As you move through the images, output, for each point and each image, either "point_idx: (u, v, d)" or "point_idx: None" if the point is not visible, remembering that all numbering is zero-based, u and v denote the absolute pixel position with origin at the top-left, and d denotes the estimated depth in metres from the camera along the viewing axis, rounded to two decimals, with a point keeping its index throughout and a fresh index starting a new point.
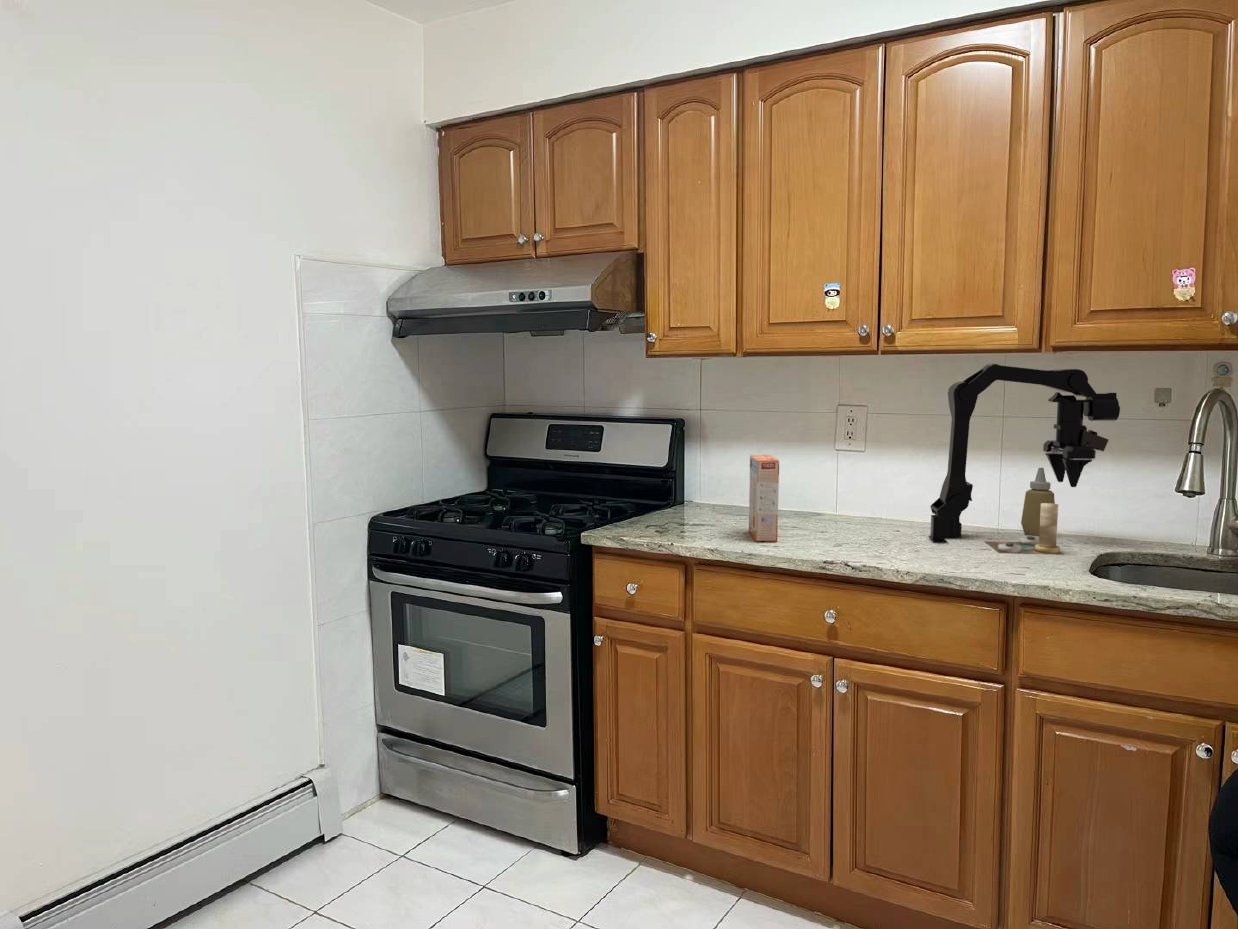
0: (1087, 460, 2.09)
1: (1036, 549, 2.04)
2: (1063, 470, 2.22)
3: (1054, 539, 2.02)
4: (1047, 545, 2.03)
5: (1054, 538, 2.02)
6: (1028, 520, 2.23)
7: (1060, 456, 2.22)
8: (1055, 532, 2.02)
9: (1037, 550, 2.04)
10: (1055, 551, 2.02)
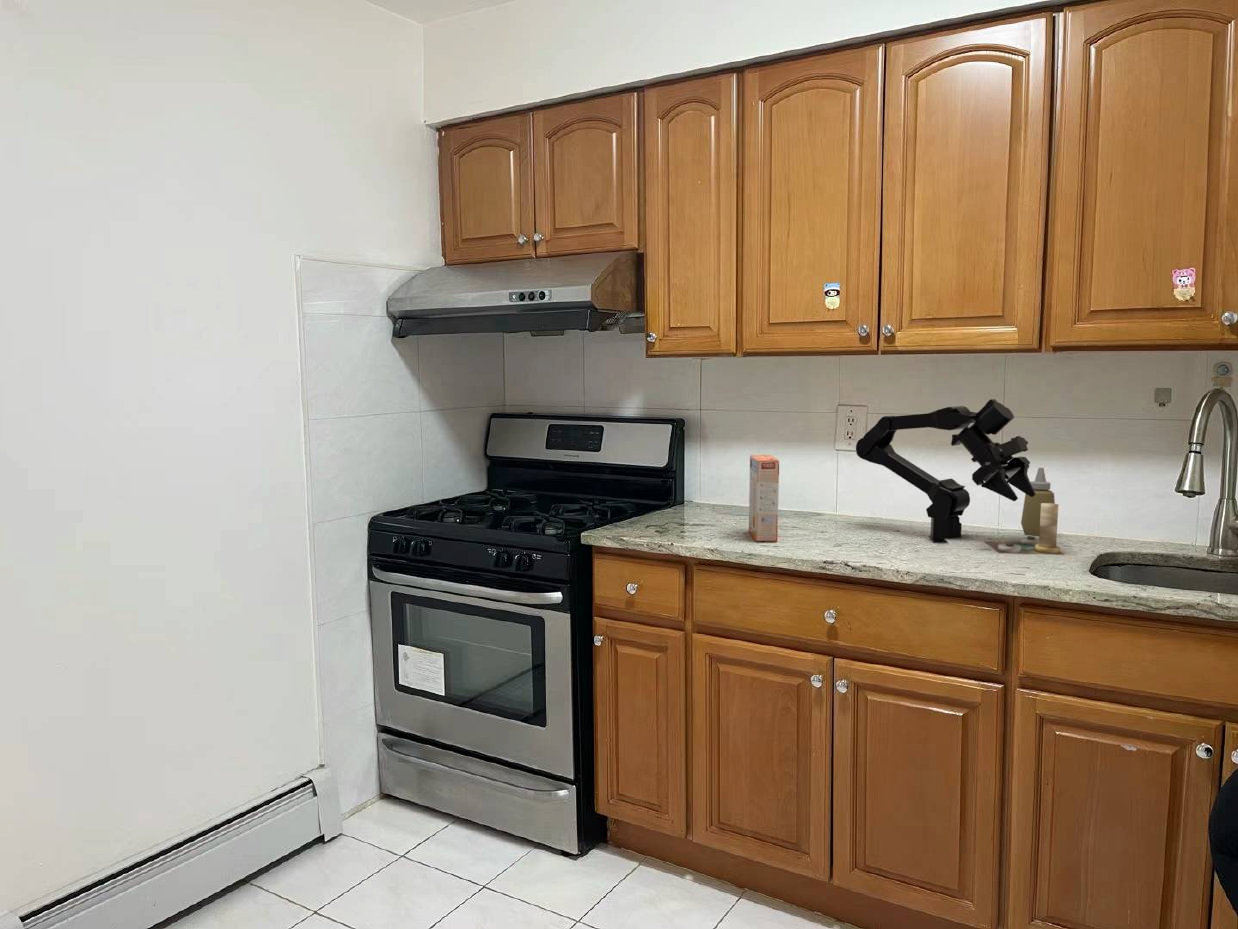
0: (995, 474, 2.04)
1: (1036, 549, 2.04)
2: (1027, 484, 2.11)
3: (1054, 539, 2.02)
4: (1047, 545, 2.03)
5: (1054, 538, 2.02)
6: (1028, 520, 2.23)
7: (1015, 475, 2.14)
8: (1055, 532, 2.02)
9: (1037, 550, 2.04)
10: (1055, 551, 2.02)
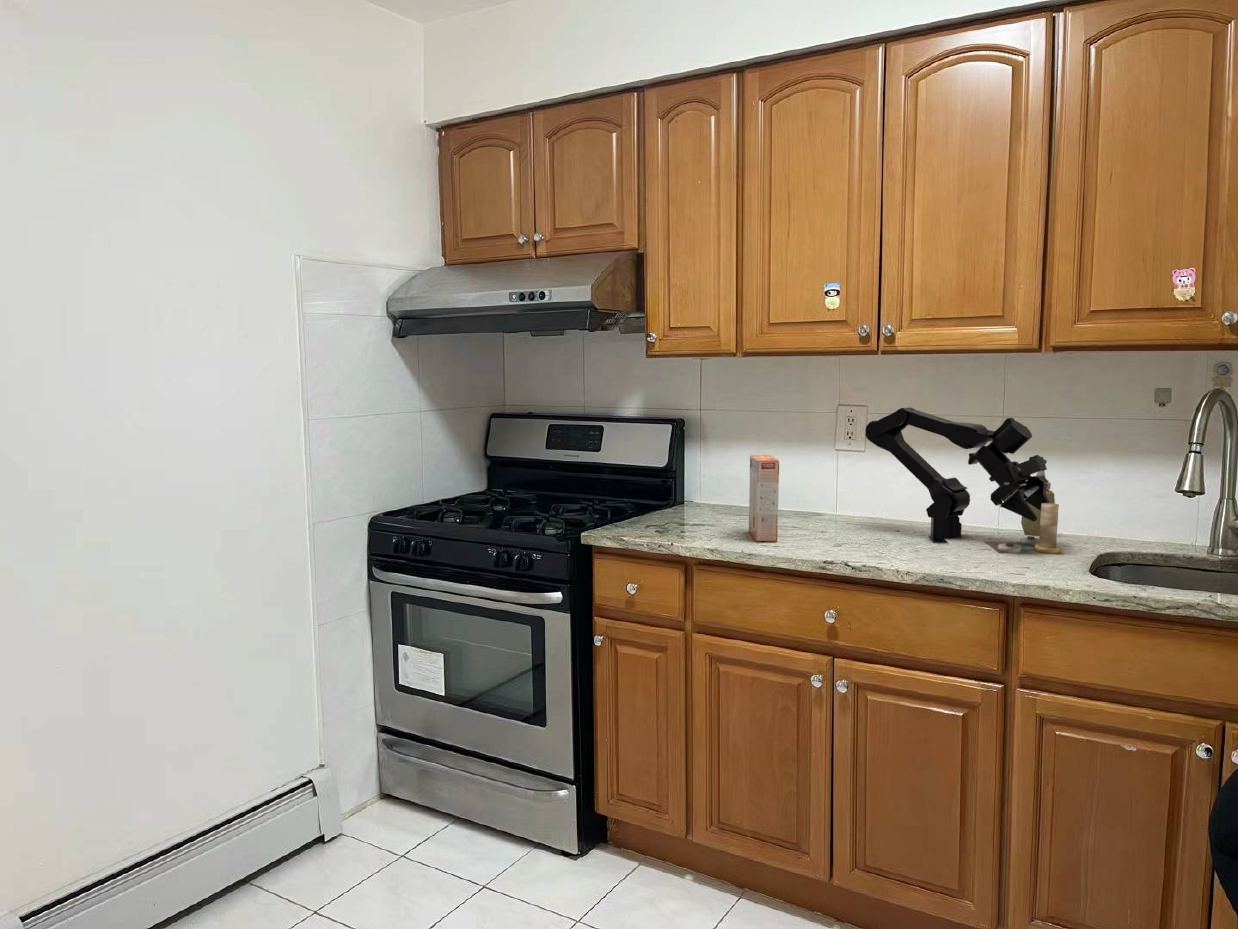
0: (1014, 494, 2.01)
1: (1036, 549, 2.04)
2: None
3: (1054, 539, 2.02)
4: (1047, 545, 2.03)
5: (1054, 538, 2.02)
6: (1028, 520, 2.23)
7: (1034, 494, 2.11)
8: (1055, 532, 2.02)
9: (1037, 550, 2.04)
10: (1055, 551, 2.02)
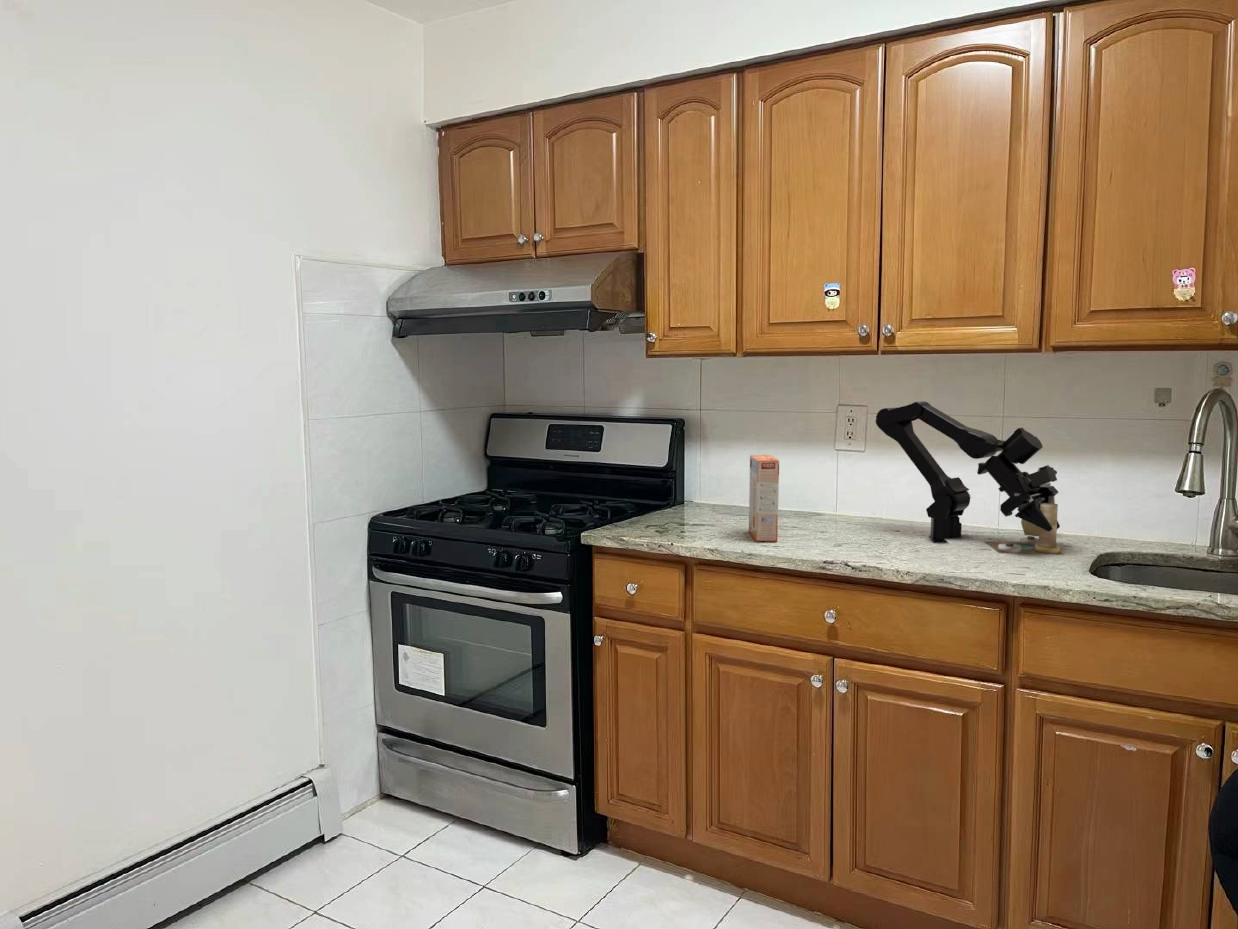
0: (1029, 504, 2.01)
1: (1036, 549, 2.04)
2: None
3: (1054, 539, 2.02)
4: (1047, 545, 2.03)
5: (1054, 538, 2.02)
6: None
7: (1039, 506, 2.07)
8: (1054, 531, 2.02)
9: (1037, 550, 2.04)
10: (1055, 551, 2.02)
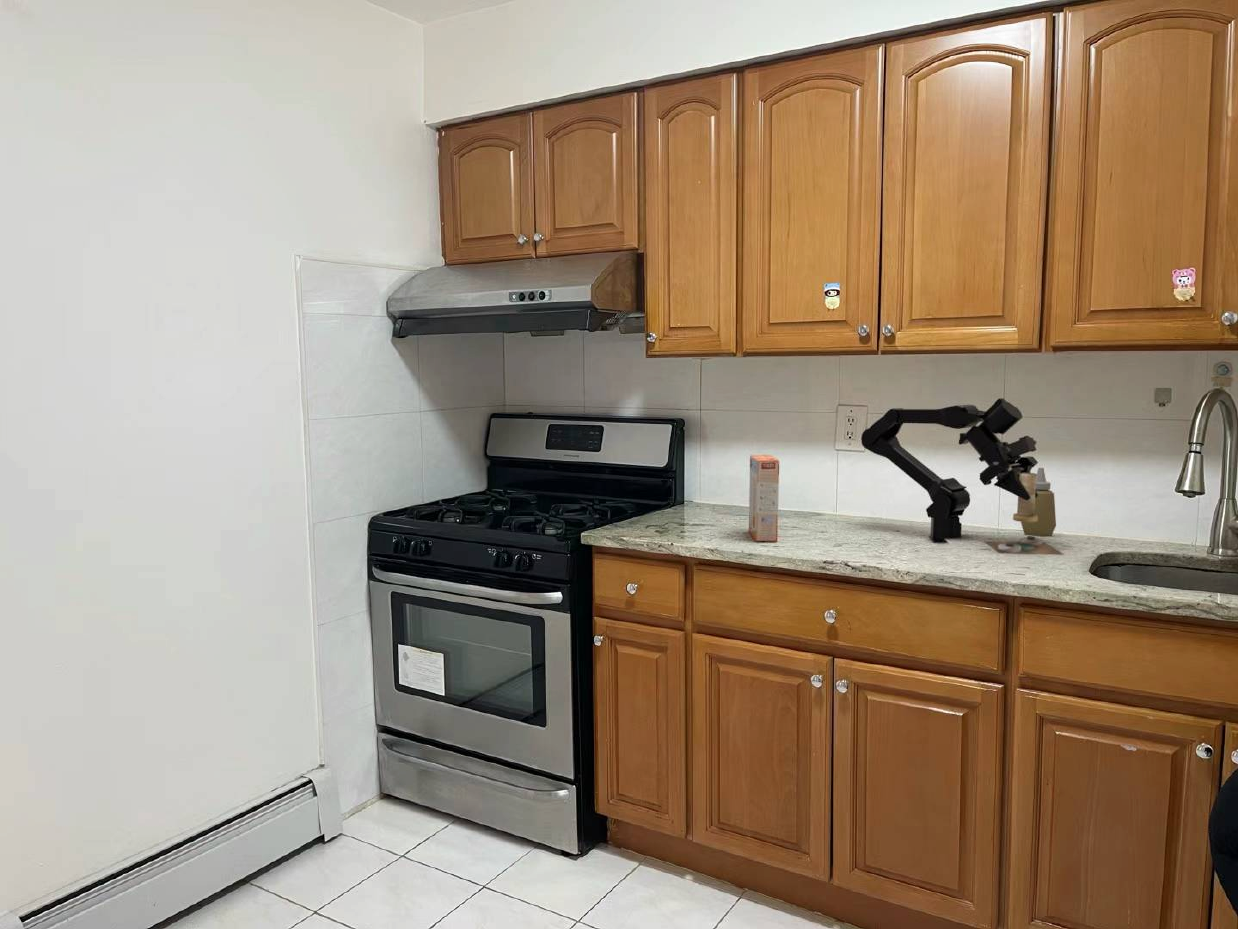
0: (1008, 473, 2.04)
1: (1014, 518, 2.07)
2: None
3: (1032, 508, 2.05)
4: (1025, 514, 2.06)
5: (1032, 507, 2.05)
6: None
7: (1018, 476, 2.10)
8: (1032, 500, 2.05)
9: (1015, 519, 2.07)
10: (1033, 519, 2.05)
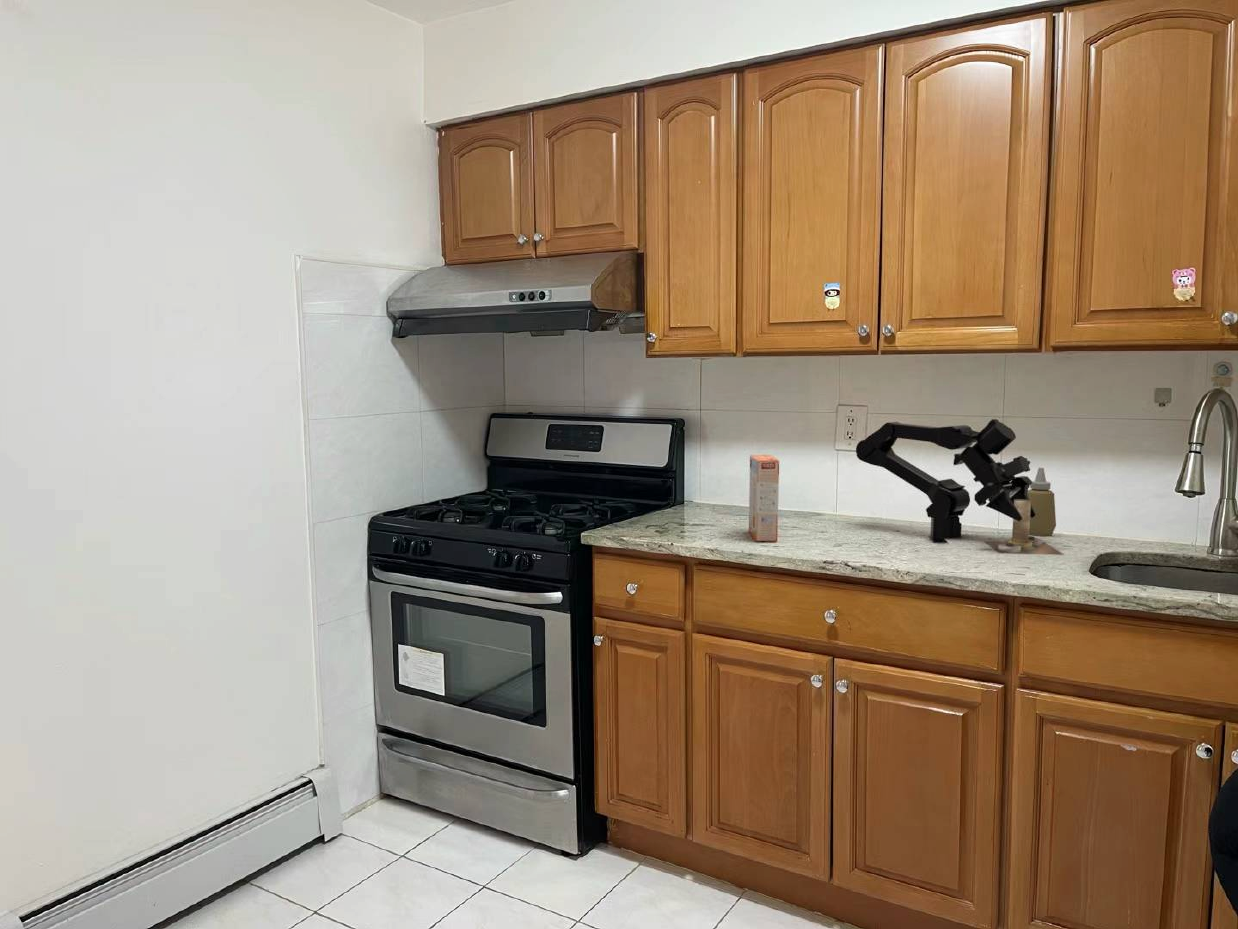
0: (999, 494, 2.04)
1: None
2: None
3: (1026, 534, 2.07)
4: (1020, 540, 2.07)
5: (1026, 533, 2.07)
6: None
7: (1016, 495, 2.13)
8: (1027, 527, 2.07)
9: None
10: (1027, 546, 2.06)
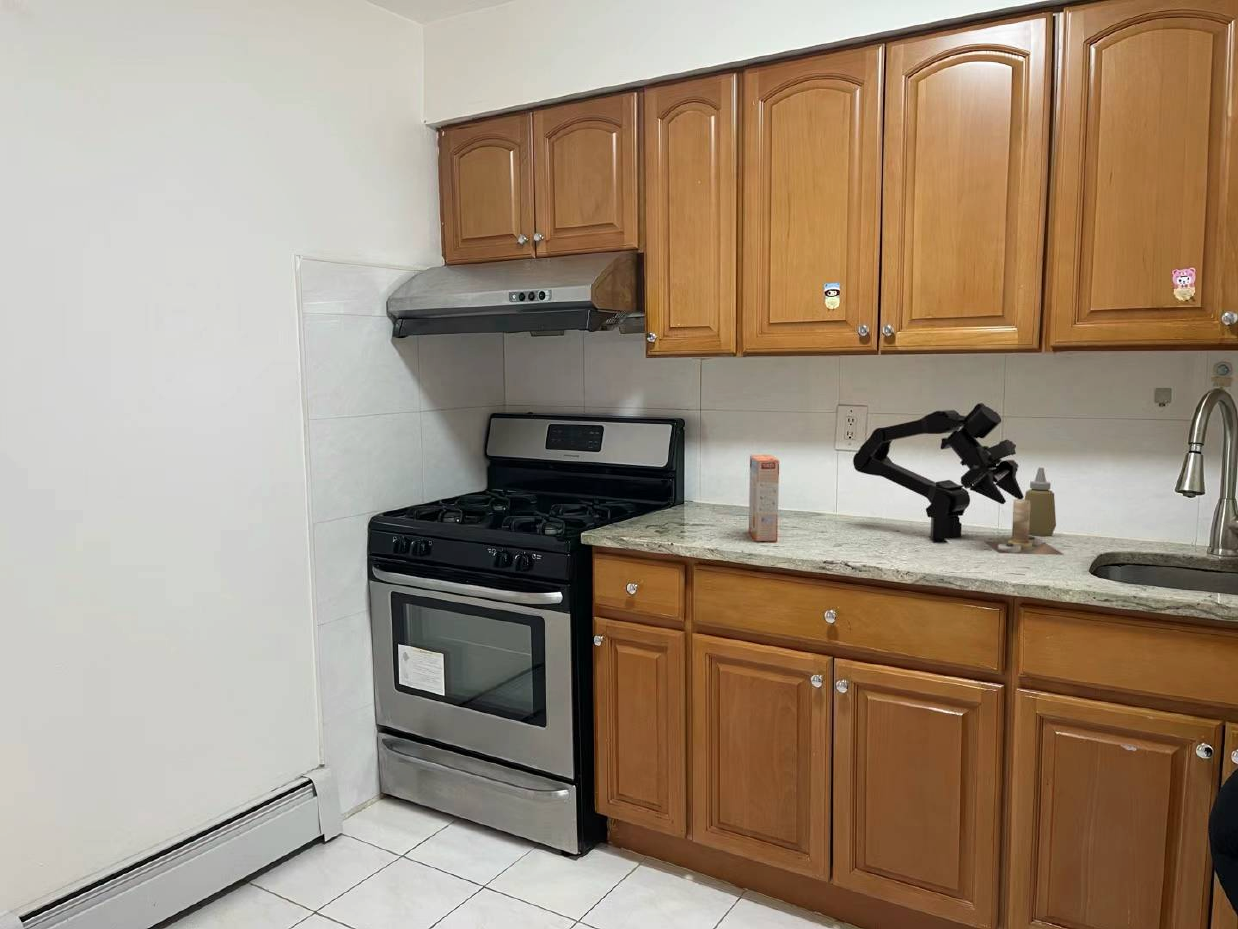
0: (983, 477, 2.06)
1: None
2: (1015, 487, 2.13)
3: (1026, 534, 2.07)
4: (1020, 540, 2.07)
5: (1026, 533, 2.07)
6: None
7: (1004, 478, 2.15)
8: (1027, 527, 2.07)
9: None
10: (1027, 546, 2.06)
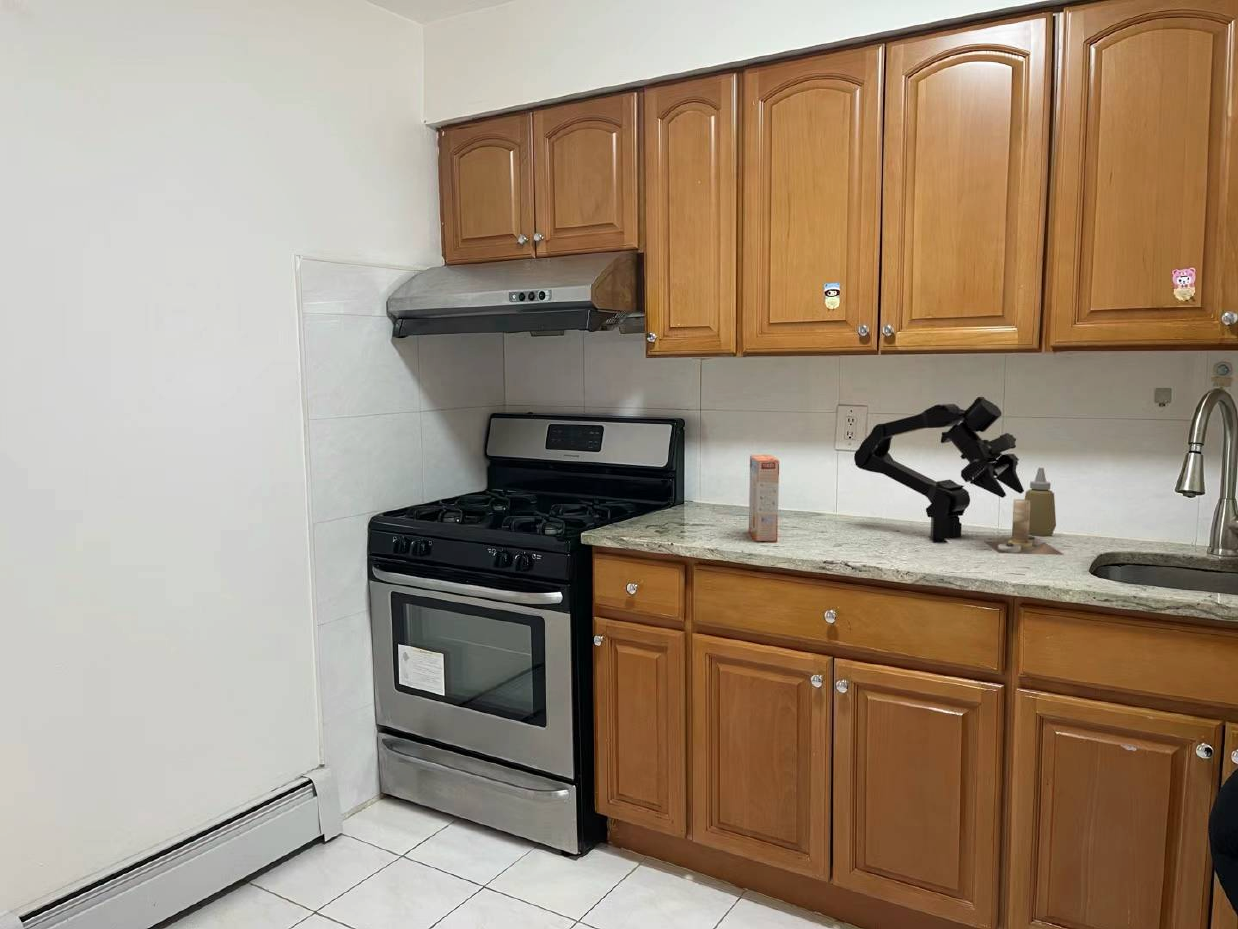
0: (983, 470, 2.06)
1: None
2: (1016, 481, 2.13)
3: (1026, 534, 2.07)
4: (1020, 540, 2.07)
5: (1026, 533, 2.07)
6: None
7: (1004, 472, 2.15)
8: (1027, 527, 2.07)
9: None
10: (1027, 546, 2.06)
